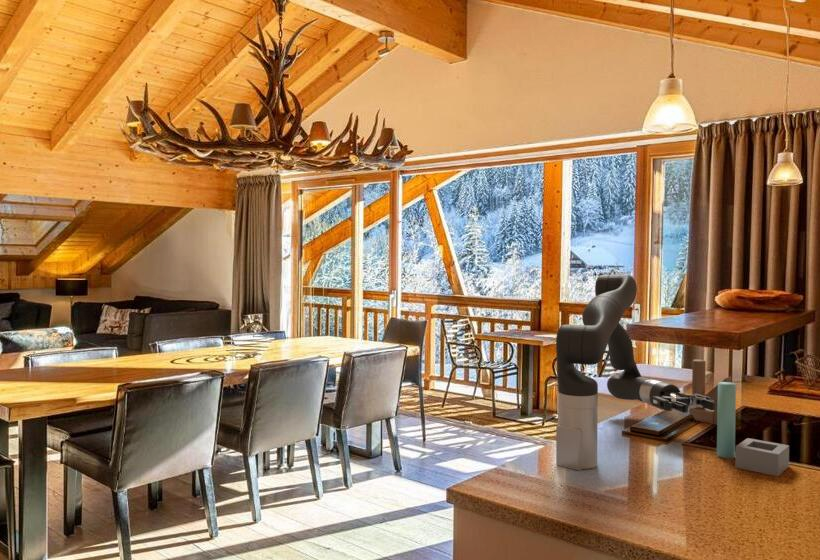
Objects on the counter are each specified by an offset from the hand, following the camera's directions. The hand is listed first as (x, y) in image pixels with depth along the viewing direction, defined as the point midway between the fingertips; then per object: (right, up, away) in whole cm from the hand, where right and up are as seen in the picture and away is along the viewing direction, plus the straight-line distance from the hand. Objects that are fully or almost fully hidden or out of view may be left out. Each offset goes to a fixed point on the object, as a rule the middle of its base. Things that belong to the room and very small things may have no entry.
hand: (700, 407), depth 169 cm
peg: (+3, -10, -8) cm, 13 cm away
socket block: (+7, -11, -16) cm, 21 cm away
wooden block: (+13, -9, +23) cm, 28 cm away
